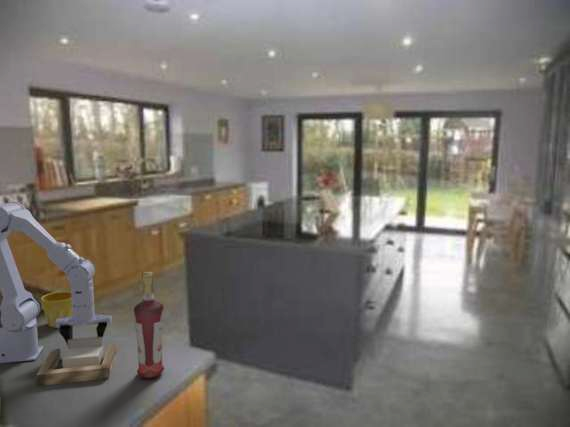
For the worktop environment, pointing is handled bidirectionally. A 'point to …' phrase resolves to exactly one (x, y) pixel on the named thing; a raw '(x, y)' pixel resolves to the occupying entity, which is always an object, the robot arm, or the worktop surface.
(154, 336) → the liquor
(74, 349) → the grey l-shaped bracket
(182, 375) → the worktop surface
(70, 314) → the plant pot
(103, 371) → the wooden u-shaped frame
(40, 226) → the robot arm
